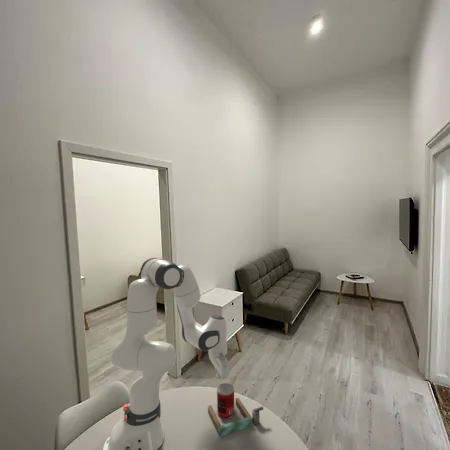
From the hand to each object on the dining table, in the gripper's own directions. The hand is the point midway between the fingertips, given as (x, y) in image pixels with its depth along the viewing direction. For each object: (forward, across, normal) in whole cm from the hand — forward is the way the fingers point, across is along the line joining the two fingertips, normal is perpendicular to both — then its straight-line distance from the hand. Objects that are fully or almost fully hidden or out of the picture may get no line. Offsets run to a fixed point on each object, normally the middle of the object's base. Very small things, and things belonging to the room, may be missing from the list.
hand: (218, 376), depth 126 cm
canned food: (+10, -10, +1) cm, 15 cm away
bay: (+10, -15, -2) cm, 18 cm away
